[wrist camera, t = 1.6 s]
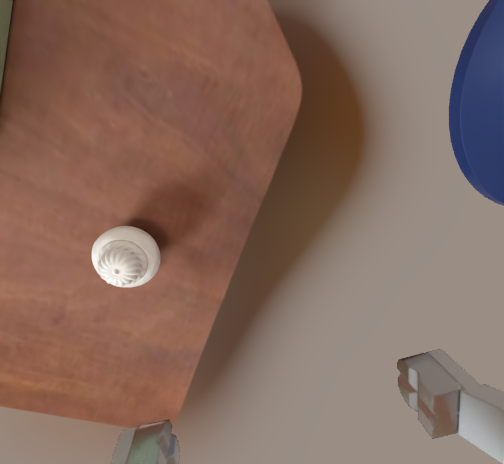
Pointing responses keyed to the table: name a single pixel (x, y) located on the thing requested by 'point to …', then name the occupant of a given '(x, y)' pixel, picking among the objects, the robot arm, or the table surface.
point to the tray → (4, 32)
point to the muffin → (126, 256)
